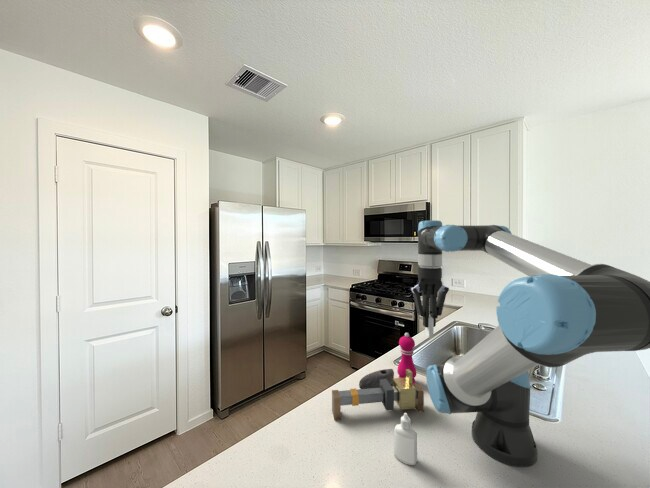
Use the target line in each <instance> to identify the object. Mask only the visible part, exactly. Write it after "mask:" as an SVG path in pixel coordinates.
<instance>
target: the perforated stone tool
mask: <svg viewBox="0 0 650 488" xmlns="http://www.w3.org/2000/svg"><path fill="white" fill-rule="evenodd" d="M393 378H395V372H394V370H393V368H388V369H386V368H385V369H380V370H376V371H373V372H370V373H368V374H366V375H364V376H363V377H361V379H360V380H359V382H358V383H359V384H358V386H359V388H358V389H370V388H380V379H387V381H388V382H389V383H390V385H391V386H392V387H393Z"/></svg>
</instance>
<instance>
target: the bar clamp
mask: <svg viewBox="0 0 650 488" xmlns="http://www.w3.org/2000/svg"><path fill="white" fill-rule="evenodd" d="M412 385H413V386H414V387H415V408H414V409H415V410H416V412H417V413H422V412H424V410H425V409H424V404H425V400H424V399H425V398H424V397H425V395H424V394H425V391H424V389H423V388H422V387H421V385H419V383H415V384H412ZM392 388H393V389H394V402H395V401H399V390H398V389H397V387H396V386H395V387H393V386H392ZM382 402H385V391H384V389H383V387H382V388H370V389H360V388H358V389H357V388H356V387H355V388H349V390H338V389H332V390H331V412H332V415H333V420H334V421H339V420H341V419H342V418H341V417H342V416H341V409H342V408H341V407H342V406H351V405H352V407H355V406H356V407H357V406H359V405H364V404H365V405H366V404H374V403H375V404H376V403H382Z"/></svg>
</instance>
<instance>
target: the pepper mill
mask: <svg viewBox="0 0 650 488" xmlns="http://www.w3.org/2000/svg"><path fill="white" fill-rule="evenodd" d="M415 344H416V342H415V339H414V338H413V337H411V336H410V334H409V332H405V333H404V335H403V336H401V337H400V338H399V341H398V346H399V347H400V348H399V350H400V351H399V353H401V360H400V361H399V364H398V366H397V371H396V373H397V374H398V378H405V377H406V369H410V370H411V372H412V384H416V379H415V378H416V377H417V369H416V366H415V364H414V360H413V355H414V348H416V347H415V346H416V345H415Z"/></svg>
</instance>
